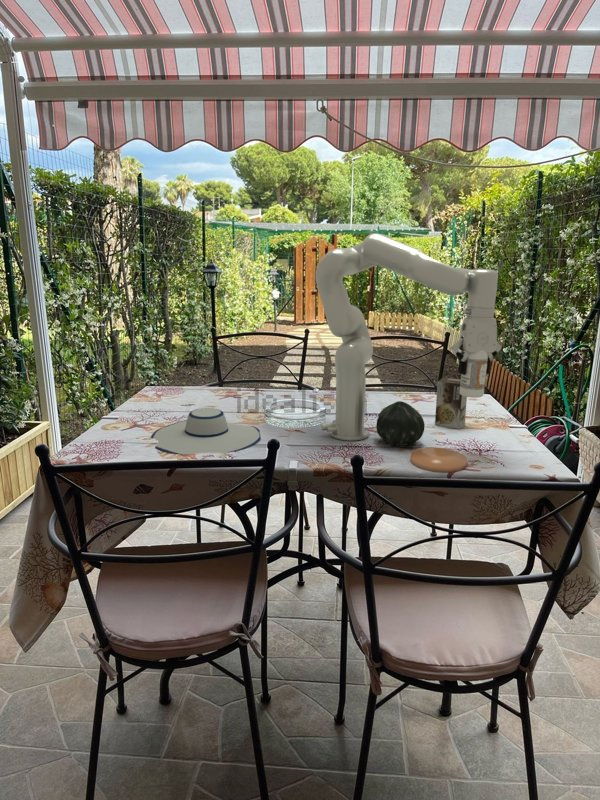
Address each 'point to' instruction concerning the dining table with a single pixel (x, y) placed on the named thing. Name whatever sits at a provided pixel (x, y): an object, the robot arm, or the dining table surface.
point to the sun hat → (205, 434)
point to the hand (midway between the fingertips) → (473, 372)
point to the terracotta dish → (438, 459)
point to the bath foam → (474, 375)
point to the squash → (400, 424)
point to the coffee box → (450, 404)
